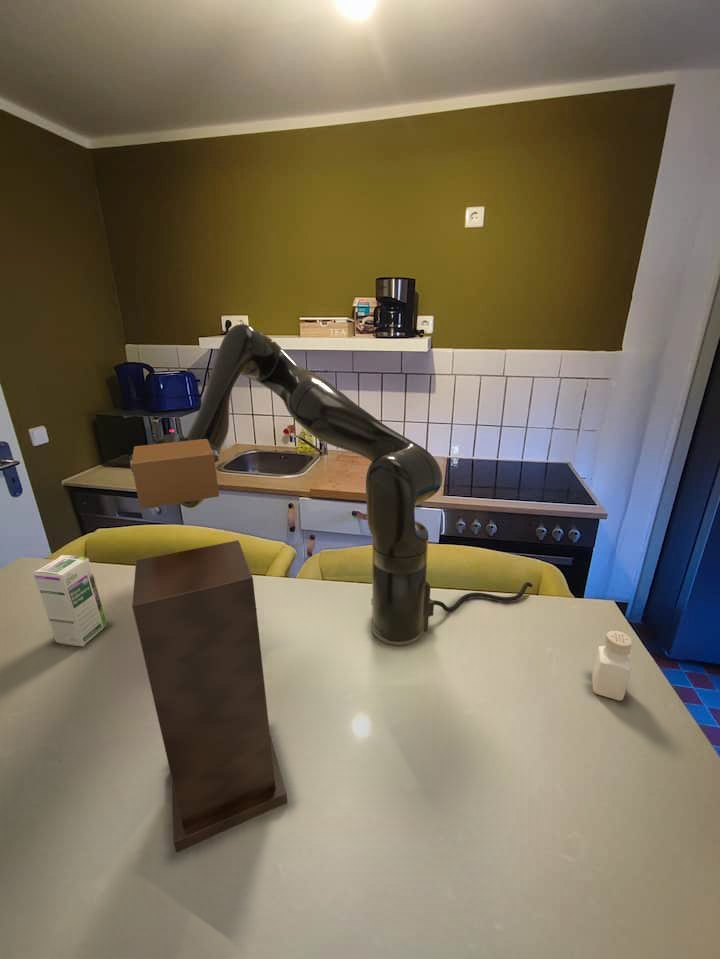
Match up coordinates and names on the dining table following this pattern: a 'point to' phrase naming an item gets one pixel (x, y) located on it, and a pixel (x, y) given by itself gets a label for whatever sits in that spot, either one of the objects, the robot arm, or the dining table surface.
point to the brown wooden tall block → (208, 687)
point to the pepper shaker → (612, 666)
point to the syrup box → (71, 599)
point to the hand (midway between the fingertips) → (172, 443)
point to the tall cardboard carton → (174, 472)
